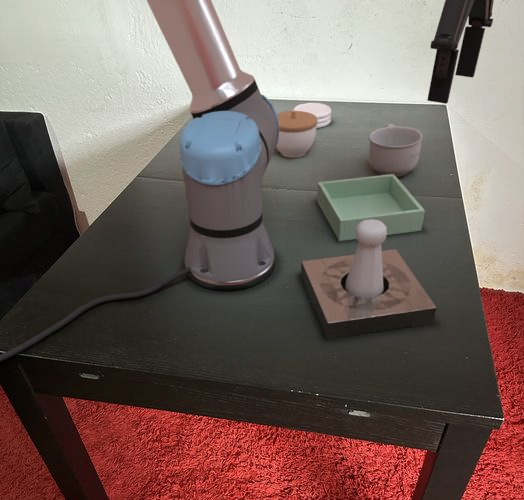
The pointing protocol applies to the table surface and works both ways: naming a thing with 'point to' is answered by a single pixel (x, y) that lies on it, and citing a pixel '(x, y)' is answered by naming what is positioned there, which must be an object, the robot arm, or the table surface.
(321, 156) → the table surface
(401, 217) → the green square tray
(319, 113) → the coaster
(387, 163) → the teacup
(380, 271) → the salt shaker
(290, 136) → the trinket box
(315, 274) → the drain plate
